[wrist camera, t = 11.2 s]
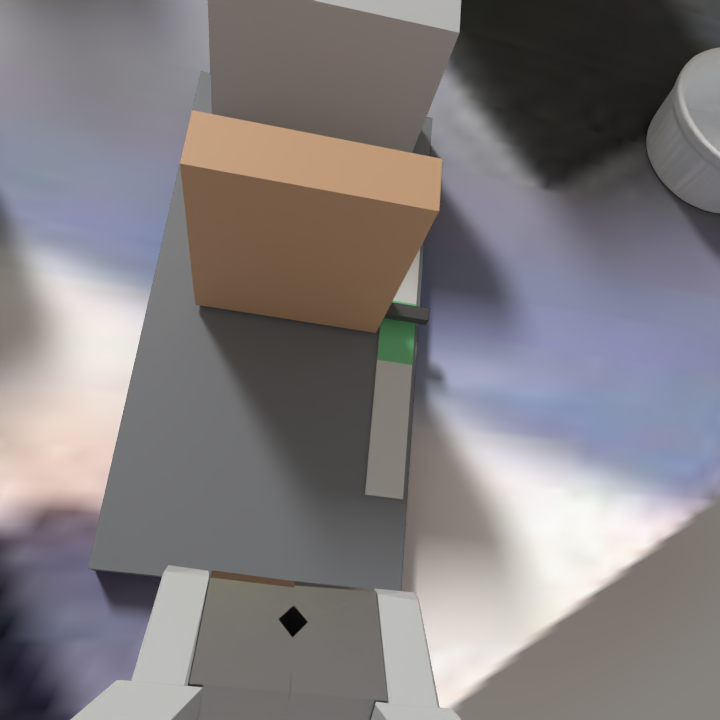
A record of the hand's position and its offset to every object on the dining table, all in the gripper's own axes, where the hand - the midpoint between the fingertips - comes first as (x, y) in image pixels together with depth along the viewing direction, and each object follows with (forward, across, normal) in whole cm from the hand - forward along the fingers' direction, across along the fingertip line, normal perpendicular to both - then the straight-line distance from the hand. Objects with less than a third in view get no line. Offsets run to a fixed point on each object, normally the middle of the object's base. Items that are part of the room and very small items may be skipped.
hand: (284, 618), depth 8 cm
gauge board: (+24, 0, -5) cm, 24 cm away
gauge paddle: (+23, +1, -4) cm, 23 cm away
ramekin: (+34, +23, +5) cm, 41 cm away
